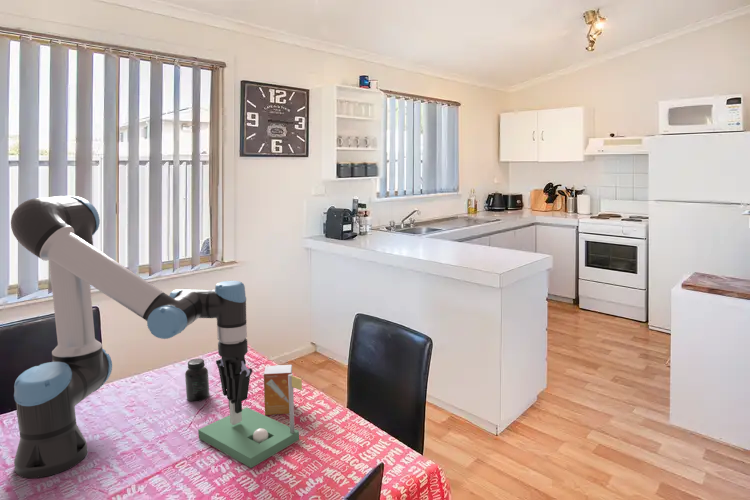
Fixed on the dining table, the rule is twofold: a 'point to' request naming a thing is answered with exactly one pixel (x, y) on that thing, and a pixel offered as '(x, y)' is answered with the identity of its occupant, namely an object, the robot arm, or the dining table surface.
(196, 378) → the supplement bottle
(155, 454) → the dining table surface
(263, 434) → the ball
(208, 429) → the putting green
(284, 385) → the small box
